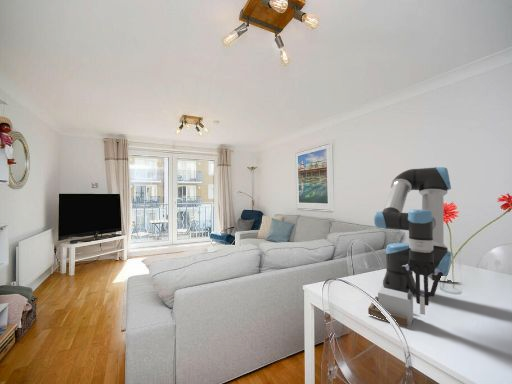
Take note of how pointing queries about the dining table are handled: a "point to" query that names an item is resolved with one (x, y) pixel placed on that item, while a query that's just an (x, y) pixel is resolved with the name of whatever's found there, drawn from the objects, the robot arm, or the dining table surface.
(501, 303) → the dining table surface
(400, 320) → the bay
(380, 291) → the grey box with ridge
